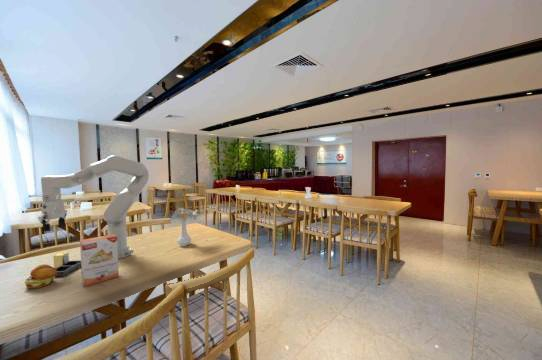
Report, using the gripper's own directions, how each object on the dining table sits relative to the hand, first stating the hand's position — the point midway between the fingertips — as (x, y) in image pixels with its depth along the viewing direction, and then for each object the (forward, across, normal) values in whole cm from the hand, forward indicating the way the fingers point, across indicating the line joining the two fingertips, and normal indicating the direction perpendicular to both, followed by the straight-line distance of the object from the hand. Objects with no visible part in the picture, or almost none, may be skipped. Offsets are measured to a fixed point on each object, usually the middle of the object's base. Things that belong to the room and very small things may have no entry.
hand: (54, 228), depth 133 cm
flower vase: (+21, +29, -62) cm, 71 cm away
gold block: (+21, -3, -4) cm, 21 cm away
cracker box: (+21, -20, -37) cm, 47 cm away
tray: (+21, -8, -12) cm, 25 cm away
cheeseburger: (+21, -23, -12) cm, 33 cm away
